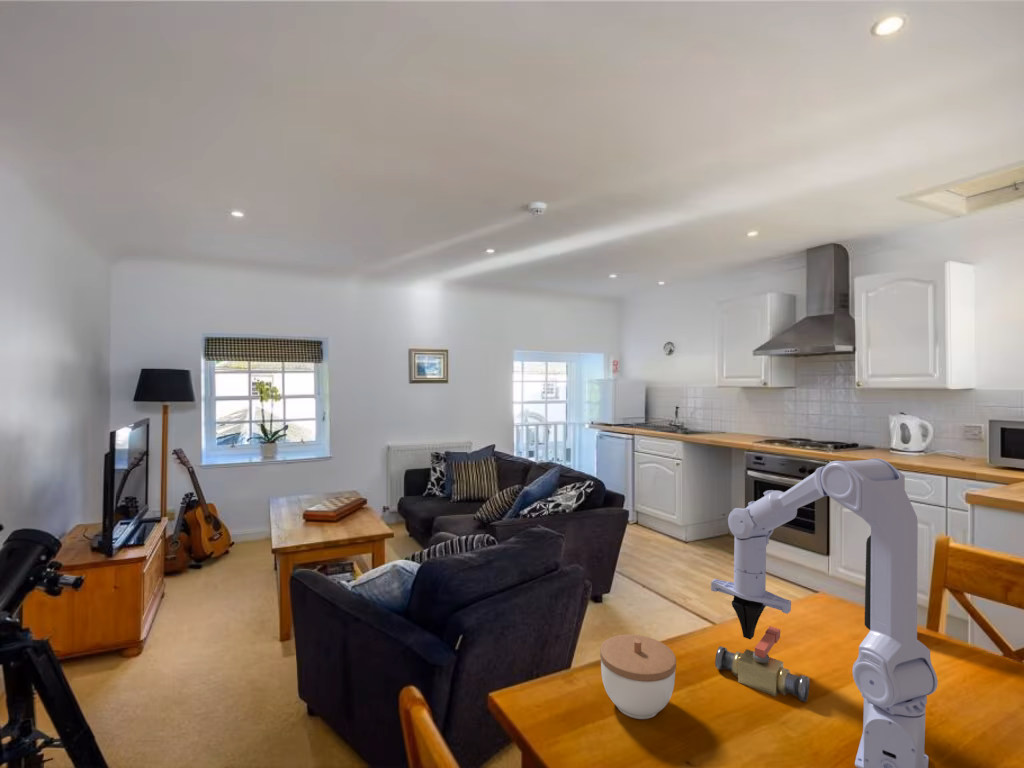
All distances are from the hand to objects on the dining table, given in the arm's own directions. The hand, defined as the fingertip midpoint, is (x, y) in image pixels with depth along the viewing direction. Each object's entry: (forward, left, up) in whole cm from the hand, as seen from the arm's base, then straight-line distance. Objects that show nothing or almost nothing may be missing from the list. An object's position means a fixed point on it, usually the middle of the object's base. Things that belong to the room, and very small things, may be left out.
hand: (748, 636), depth 100 cm
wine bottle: (+35, -19, -5) cm, 40 cm away
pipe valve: (-6, -4, -5) cm, 9 cm away
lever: (-2, -4, 0) cm, 5 cm away
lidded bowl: (-27, +10, -5) cm, 29 cm away
